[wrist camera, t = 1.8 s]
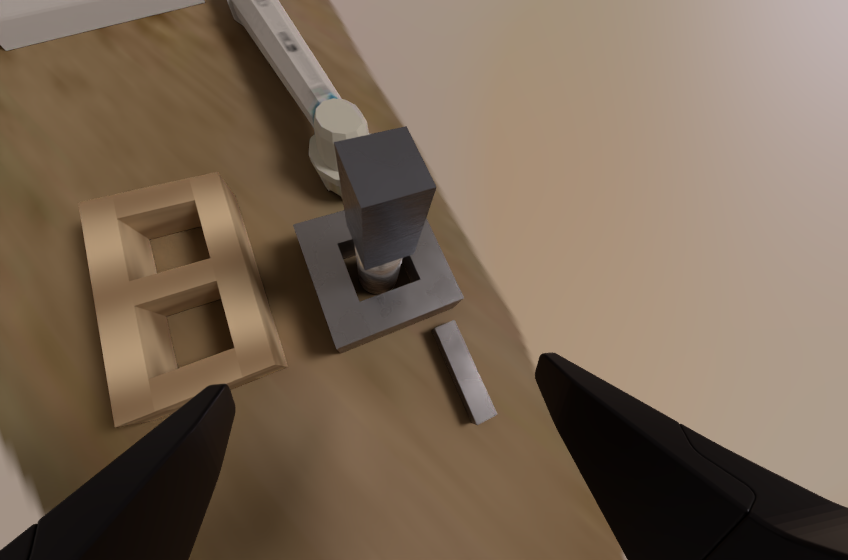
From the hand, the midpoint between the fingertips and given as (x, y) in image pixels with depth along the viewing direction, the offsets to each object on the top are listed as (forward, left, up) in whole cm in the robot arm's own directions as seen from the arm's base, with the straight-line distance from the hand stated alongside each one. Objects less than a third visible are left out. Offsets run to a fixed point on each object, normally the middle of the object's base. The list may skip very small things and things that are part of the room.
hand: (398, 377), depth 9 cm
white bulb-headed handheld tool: (+26, -2, -14) cm, 30 cm away
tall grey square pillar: (+7, -2, -13) cm, 16 cm away
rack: (+10, +10, -13) cm, 19 cm away
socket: (+7, -2, -13) cm, 16 cm away
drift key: (-2, -5, -13) cm, 15 cm away
